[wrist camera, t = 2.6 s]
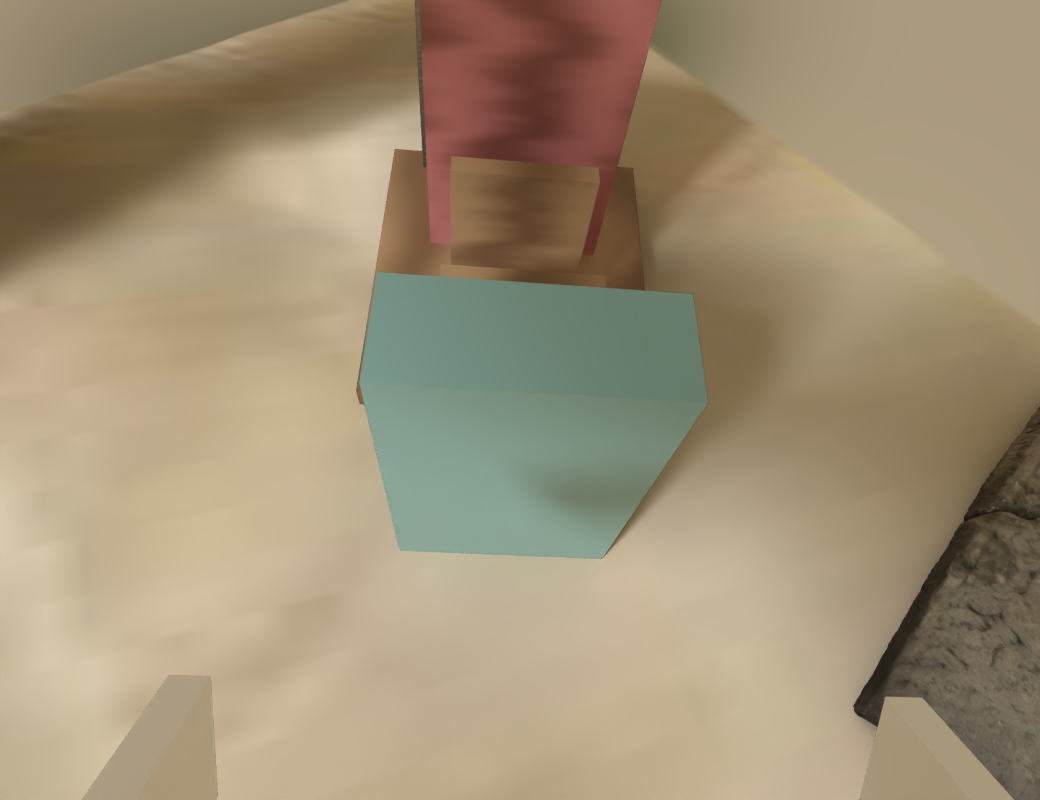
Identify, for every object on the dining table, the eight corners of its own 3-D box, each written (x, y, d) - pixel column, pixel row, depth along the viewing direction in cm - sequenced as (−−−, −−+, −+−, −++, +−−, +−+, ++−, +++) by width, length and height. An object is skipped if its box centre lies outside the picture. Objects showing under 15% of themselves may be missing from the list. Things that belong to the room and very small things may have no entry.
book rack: (359, 403, 36) (291, 135, 21) (396, 167, 45) (367, -140, 30) (648, 419, 37) (782, 175, 22) (627, 185, 46) (712, -102, 31)
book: (399, 550, 33) (359, 382, 19) (408, 474, 34) (376, 272, 21) (602, 559, 33) (707, 402, 19) (598, 484, 35) (692, 293, 21)
